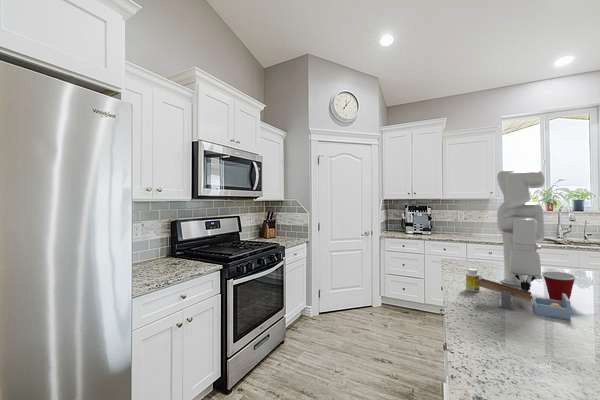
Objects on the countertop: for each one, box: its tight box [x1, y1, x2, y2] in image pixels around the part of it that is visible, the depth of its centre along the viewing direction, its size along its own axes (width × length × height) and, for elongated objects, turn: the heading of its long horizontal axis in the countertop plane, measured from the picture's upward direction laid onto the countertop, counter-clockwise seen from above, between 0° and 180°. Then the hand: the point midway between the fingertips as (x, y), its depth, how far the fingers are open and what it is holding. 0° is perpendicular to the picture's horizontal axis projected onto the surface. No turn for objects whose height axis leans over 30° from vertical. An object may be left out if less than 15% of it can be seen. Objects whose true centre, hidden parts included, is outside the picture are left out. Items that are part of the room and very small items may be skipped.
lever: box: [477, 275, 533, 303], centre depth 117 cm, size 12×18×3 cm
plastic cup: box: [541, 270, 577, 301], centre depth 117 cm, size 11×11×12 cm
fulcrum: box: [498, 284, 515, 311], centre depth 114 cm, size 10×5×7 cm, turn 143°
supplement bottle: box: [465, 268, 481, 293], centre depth 134 cm, size 6×6×10 cm
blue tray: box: [531, 293, 572, 322], centre depth 106 cm, size 10×10×7 cm
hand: (525, 291), depth 115 cm, fingers closed
